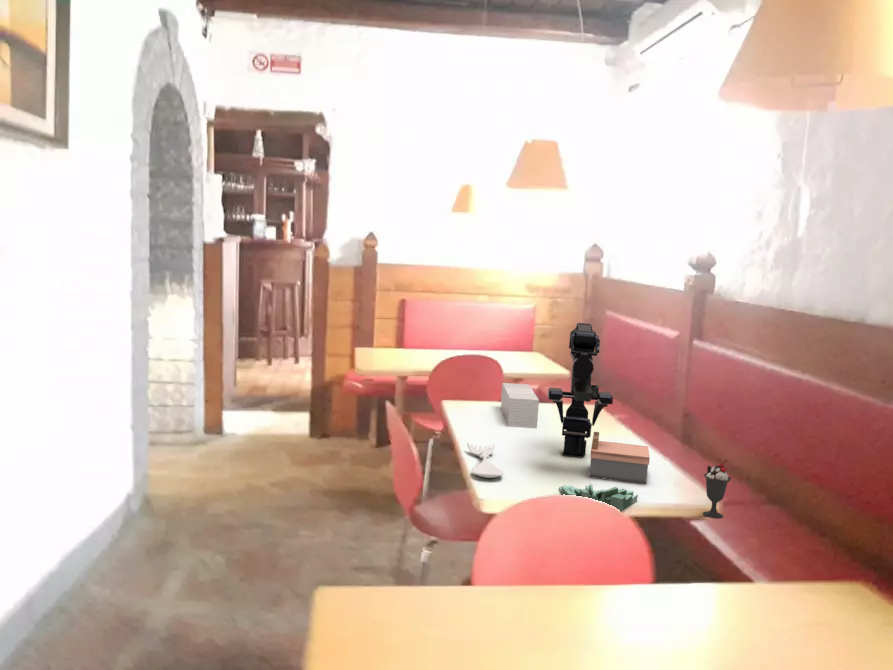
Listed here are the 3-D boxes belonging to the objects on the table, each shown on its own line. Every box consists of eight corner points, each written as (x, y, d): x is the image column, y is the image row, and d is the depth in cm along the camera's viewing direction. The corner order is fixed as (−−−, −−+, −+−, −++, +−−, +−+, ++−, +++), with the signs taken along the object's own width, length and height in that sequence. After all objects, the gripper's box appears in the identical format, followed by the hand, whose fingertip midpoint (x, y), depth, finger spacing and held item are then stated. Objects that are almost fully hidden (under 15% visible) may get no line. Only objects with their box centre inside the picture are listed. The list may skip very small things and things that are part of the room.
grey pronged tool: (494, 453, 246) (495, 442, 246) (504, 483, 214) (505, 471, 214) (465, 451, 246) (466, 440, 246) (472, 482, 214) (473, 469, 214)
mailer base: (589, 476, 226) (591, 453, 225) (590, 466, 237) (592, 443, 236) (646, 484, 222) (648, 460, 221) (645, 472, 234) (647, 450, 233)
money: (569, 511, 196) (571, 492, 195) (558, 490, 212) (559, 473, 211) (648, 515, 197) (650, 496, 196) (630, 494, 213) (632, 477, 212)
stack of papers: (500, 409, 316) (502, 382, 314) (526, 410, 316) (528, 384, 315) (507, 427, 284) (509, 398, 283) (536, 428, 284) (539, 399, 283)
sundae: (729, 521, 195) (735, 462, 193) (701, 517, 196) (707, 459, 194) (725, 512, 201) (731, 456, 199) (698, 509, 202) (703, 453, 201)
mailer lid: (590, 457, 224) (591, 440, 223) (592, 446, 238) (593, 429, 237) (648, 464, 221) (650, 446, 220) (647, 452, 234) (649, 436, 234)
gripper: (552, 374, 224) (548, 427, 225) (618, 379, 223) (613, 432, 224) (549, 368, 235) (545, 419, 236) (611, 373, 234) (607, 424, 235)
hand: (577, 424), depth 233 cm, fingers open, 9 cm apart
